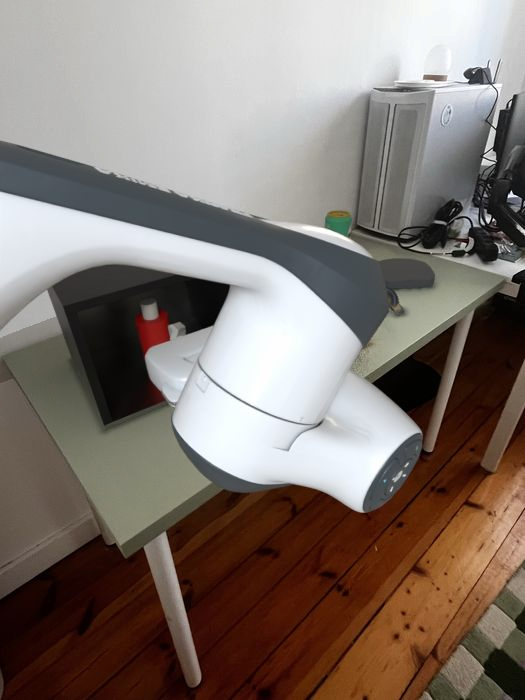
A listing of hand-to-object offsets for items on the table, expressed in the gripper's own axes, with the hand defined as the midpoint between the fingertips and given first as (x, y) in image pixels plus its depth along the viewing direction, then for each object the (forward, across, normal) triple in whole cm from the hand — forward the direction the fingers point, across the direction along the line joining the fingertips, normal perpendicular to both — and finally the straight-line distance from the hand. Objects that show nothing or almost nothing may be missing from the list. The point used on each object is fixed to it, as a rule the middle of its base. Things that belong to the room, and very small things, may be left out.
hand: (210, 316), depth 52 cm
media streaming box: (+31, +71, -26) cm, 82 cm away
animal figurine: (+21, +54, -26) cm, 64 cm away
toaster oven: (+32, +4, -26) cm, 41 cm away
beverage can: (+57, +70, -26) cm, 94 cm away
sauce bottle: (+27, 0, -25) cm, 37 cm away
